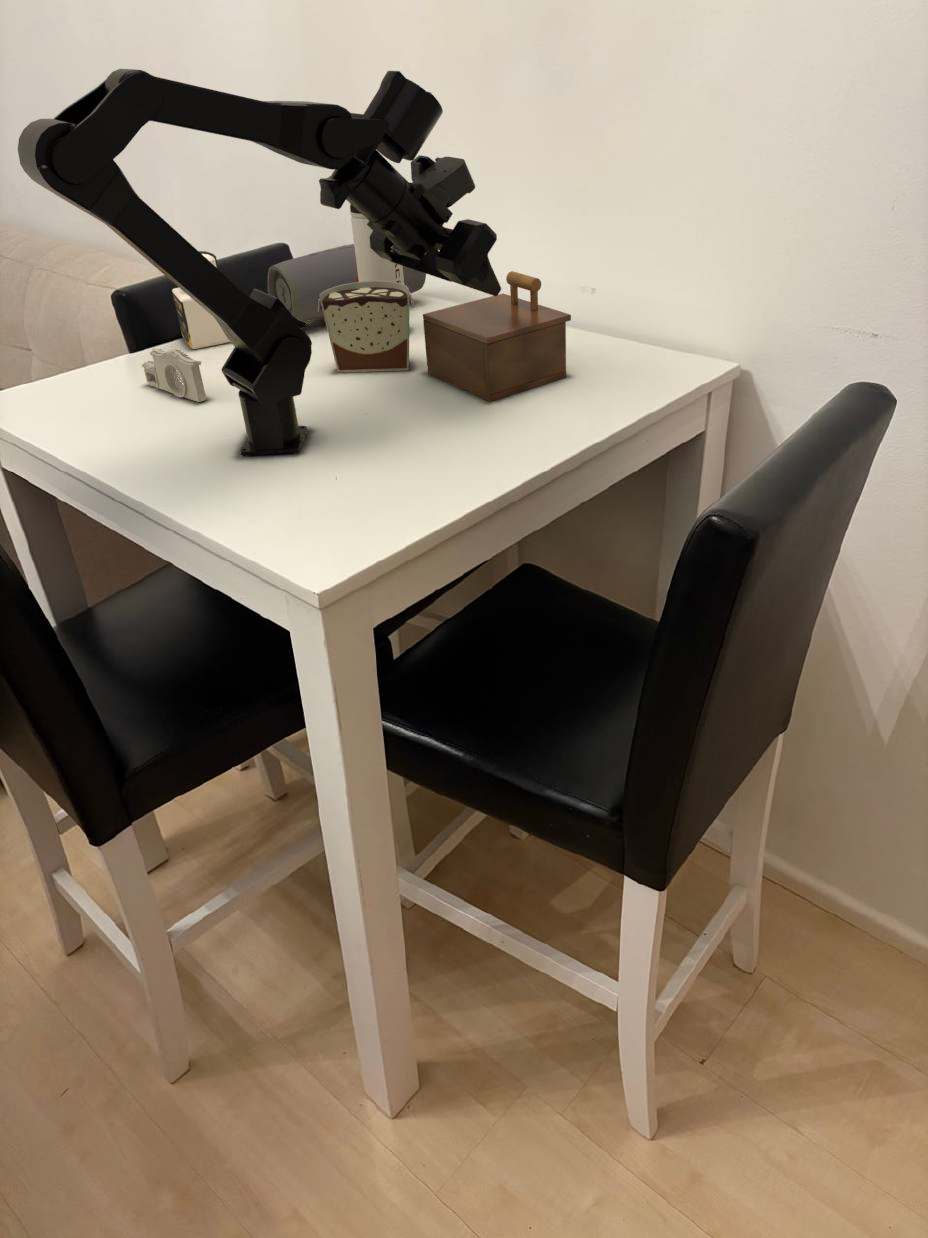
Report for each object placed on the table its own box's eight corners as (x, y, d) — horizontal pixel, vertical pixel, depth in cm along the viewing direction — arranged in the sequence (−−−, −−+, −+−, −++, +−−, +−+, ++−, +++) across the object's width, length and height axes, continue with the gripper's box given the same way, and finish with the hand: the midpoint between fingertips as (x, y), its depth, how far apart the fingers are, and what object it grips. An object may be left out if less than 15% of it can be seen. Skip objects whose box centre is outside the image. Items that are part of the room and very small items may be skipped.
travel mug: (358, 330, 141) (339, 181, 129) (402, 323, 142) (387, 175, 131) (368, 342, 136) (349, 188, 124) (413, 335, 137) (399, 182, 126)
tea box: (500, 351, 129) (498, 299, 125) (566, 377, 119) (566, 321, 115) (427, 373, 123) (422, 319, 120) (490, 401, 114) (487, 344, 110)
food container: (426, 354, 130) (419, 277, 124) (420, 369, 125) (412, 290, 119) (336, 356, 131) (325, 281, 126) (326, 372, 126) (315, 294, 121)
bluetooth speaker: (300, 338, 139) (289, 267, 133) (272, 325, 145) (259, 256, 140) (431, 304, 149) (425, 236, 144) (399, 293, 156) (392, 227, 150)
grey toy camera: (145, 386, 126) (134, 341, 123) (157, 381, 128) (146, 337, 124) (199, 404, 119) (188, 357, 116) (210, 399, 121) (200, 353, 117)
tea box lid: (503, 298, 125) (501, 262, 123) (571, 320, 116) (571, 281, 113) (422, 319, 120) (419, 282, 117) (487, 344, 110) (485, 304, 108)
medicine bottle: (182, 337, 143) (163, 253, 137) (229, 328, 146) (212, 245, 139) (192, 350, 138) (172, 263, 131) (241, 340, 140) (224, 254, 134)
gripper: (477, 139, 96) (563, 237, 107) (381, 126, 109) (467, 215, 120) (417, 236, 96) (508, 324, 107) (329, 212, 110) (418, 292, 121)
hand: (475, 285), depth 114 cm, fingers open, 9 cm apart
